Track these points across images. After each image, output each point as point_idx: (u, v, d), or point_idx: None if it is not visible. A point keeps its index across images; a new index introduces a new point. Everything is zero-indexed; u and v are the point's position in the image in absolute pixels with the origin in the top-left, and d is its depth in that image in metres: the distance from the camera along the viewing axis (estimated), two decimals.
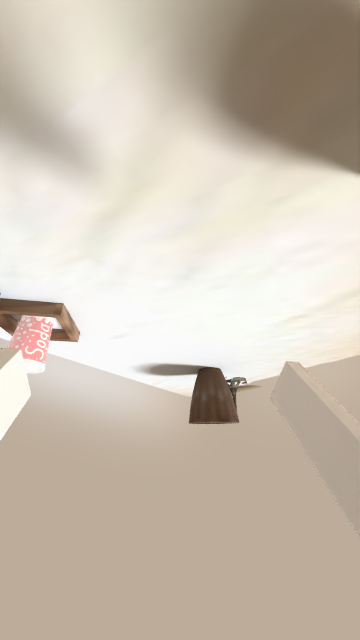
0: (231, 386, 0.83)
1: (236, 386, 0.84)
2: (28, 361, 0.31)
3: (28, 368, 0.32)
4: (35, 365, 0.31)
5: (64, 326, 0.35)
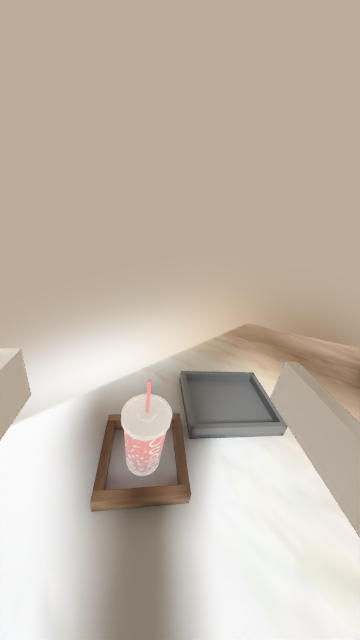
0: None
1: None
2: None
3: (149, 420, 0.24)
4: (161, 432, 0.23)
5: (154, 491, 0.24)
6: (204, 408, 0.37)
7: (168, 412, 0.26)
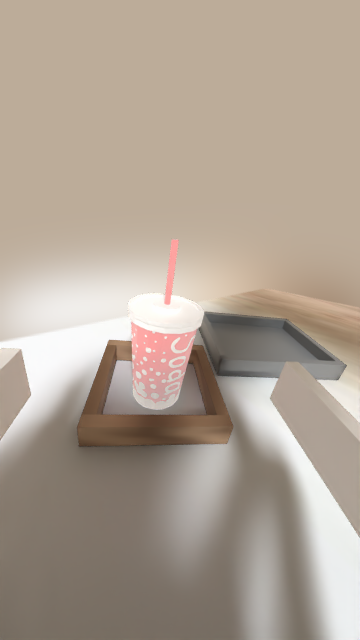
0: None
1: None
2: (196, 323, 0.16)
3: (170, 311, 0.16)
4: (191, 323, 0.15)
5: (178, 420, 0.15)
6: (232, 347, 0.28)
7: (198, 309, 0.17)
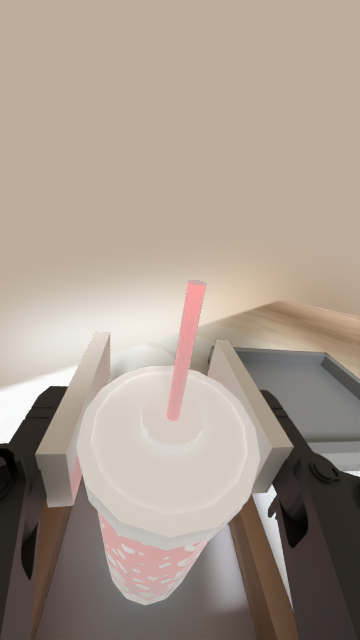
0: None
1: None
2: None
3: (182, 448, 0.07)
4: (238, 504, 0.06)
5: None
6: None
7: (239, 418, 0.08)
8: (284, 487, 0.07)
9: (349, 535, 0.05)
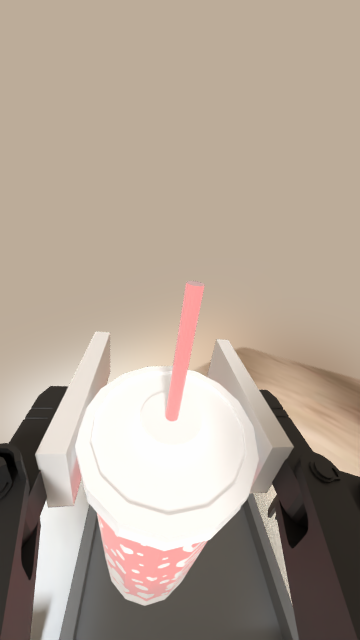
0: None
1: None
2: None
3: (181, 448, 0.07)
4: (237, 505, 0.06)
5: None
6: (119, 593, 0.16)
7: (238, 418, 0.08)
8: (284, 487, 0.07)
9: (349, 535, 0.05)
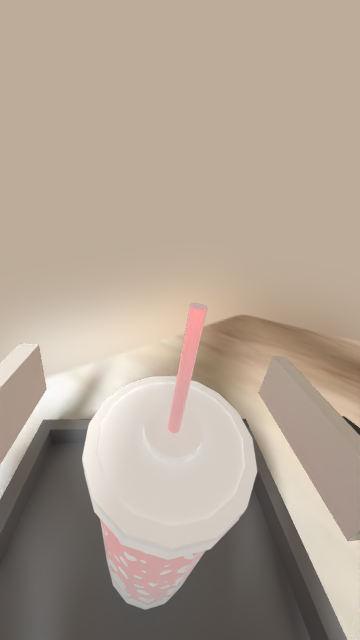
0: None
1: None
2: None
3: (183, 460, 0.07)
4: (236, 516, 0.06)
5: None
6: (47, 596, 0.09)
7: (237, 429, 0.08)
8: None
9: None
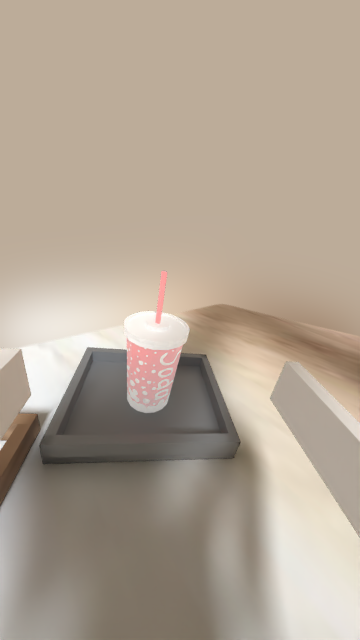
0: None
1: None
2: (182, 340, 0.19)
3: (160, 330, 0.19)
4: (176, 341, 0.18)
5: None
6: (101, 406, 0.21)
7: (184, 327, 0.20)
8: None
9: None
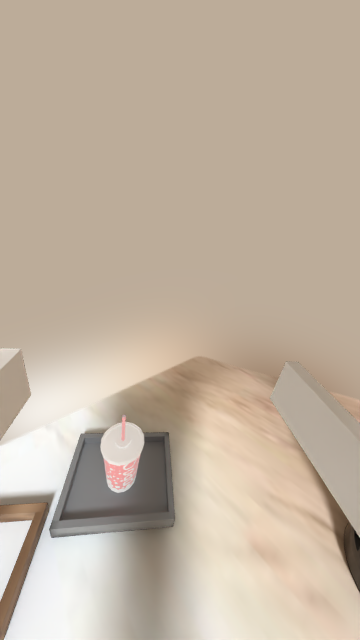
0: None
1: None
2: (137, 454, 0.29)
3: (123, 447, 0.29)
4: (132, 458, 0.28)
5: None
6: (89, 488, 0.32)
7: (141, 439, 0.31)
8: None
9: None
